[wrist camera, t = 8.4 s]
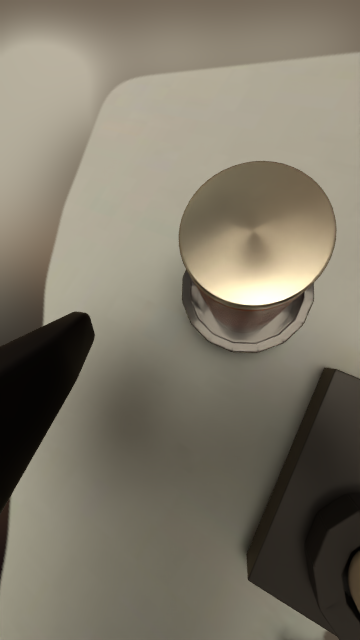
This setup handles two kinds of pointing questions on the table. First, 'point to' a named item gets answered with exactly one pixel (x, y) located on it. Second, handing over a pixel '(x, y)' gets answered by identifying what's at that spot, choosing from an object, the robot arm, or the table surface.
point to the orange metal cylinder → (256, 241)
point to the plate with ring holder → (316, 512)
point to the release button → (355, 579)
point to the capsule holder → (244, 342)
